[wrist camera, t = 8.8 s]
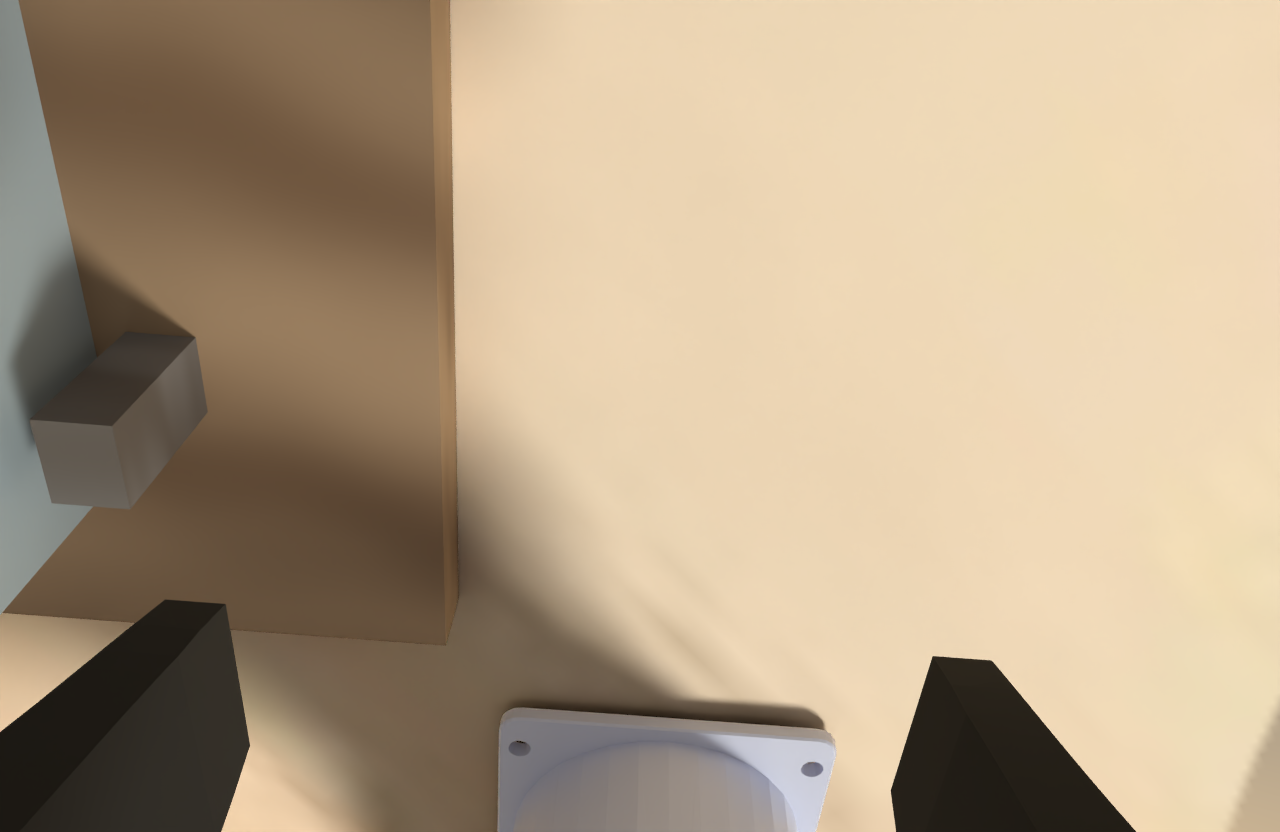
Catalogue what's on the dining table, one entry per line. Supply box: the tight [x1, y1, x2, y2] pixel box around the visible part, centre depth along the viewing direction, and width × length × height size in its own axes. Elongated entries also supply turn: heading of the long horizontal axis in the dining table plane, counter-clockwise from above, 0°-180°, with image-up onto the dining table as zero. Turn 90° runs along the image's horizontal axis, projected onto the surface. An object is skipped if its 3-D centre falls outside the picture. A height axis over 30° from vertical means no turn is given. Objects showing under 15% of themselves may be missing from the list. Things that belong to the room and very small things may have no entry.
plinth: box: [2, 0, 459, 645], centre depth 15 cm, size 20×12×4 cm, turn 175°
